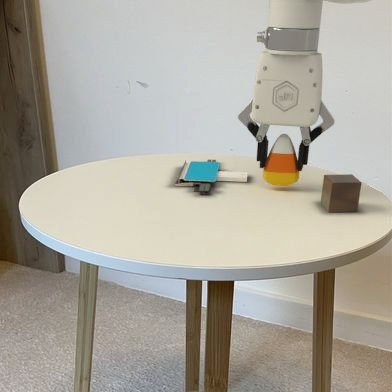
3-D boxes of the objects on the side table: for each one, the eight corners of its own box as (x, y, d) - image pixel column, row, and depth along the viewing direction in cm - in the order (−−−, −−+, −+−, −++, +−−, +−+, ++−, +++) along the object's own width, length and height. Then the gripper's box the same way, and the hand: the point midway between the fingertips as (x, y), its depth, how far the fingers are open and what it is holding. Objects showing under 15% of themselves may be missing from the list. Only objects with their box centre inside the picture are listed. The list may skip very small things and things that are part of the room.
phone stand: (245, 196, 95) (246, 186, 94) (171, 193, 96) (171, 183, 95) (247, 164, 112) (248, 155, 111) (184, 162, 113) (184, 153, 112)
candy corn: (298, 182, 99) (303, 132, 95) (298, 187, 97) (303, 136, 92) (262, 180, 100) (265, 130, 96) (261, 185, 97) (264, 134, 93)
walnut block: (348, 202, 93) (352, 174, 91) (357, 211, 89) (361, 182, 87) (320, 203, 93) (323, 174, 90) (328, 212, 89) (332, 182, 86)
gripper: (229, 41, 86) (224, 169, 96) (351, 46, 83) (333, 178, 92) (239, 38, 92) (234, 158, 102) (353, 42, 89) (336, 166, 98)
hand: (281, 166), depth 97 cm, fingers closed on candy corn, 5 cm apart
